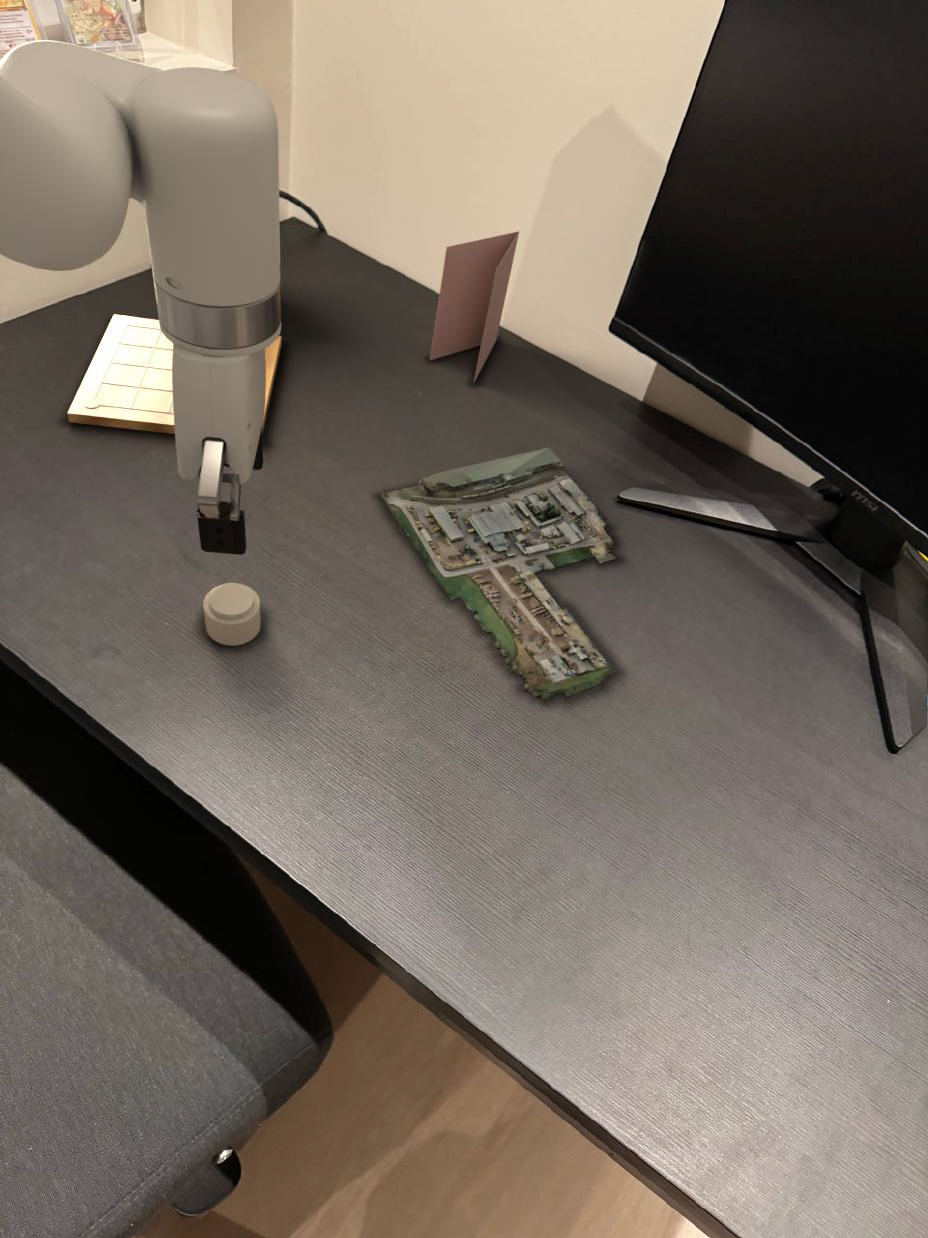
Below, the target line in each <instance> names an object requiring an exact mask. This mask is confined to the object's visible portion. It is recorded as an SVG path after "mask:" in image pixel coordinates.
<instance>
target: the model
mask: <svg viewBox="0 0 928 1238" xmlns="http://www.w3.org/2000/svg"><path fill="white" fill-rule="evenodd" d="M563 466H564V463H563V461H562V460H561V459H560V458H559V456H557V455H556V454H555V453H554V451H553V450H552V449H551V448H550V446H549V447H548V446H547V447H545V448H540V449H537V450H532V451H527V452H522V453H517V454H514V455H509V456H505V457H500V458H496V459H493V460H492V459H491V460H488V461H483V462H479V463H475V464H471V465H465V466H461V467H457V468H453V469H448V470H444V471H440V472H436V473H431V474H427V475H422V476H419V477H413V478H412V480H418V485H415V486H410V487H406V488H401V489H397V490H392V491H389V492H387V490H386V488H383V491H382V493H381V498H382V500H383V501H384V503H385V505H386V506H387V507H388V509H389V510H390V512H391V513H392V515H393V516H394V518H395V519H396V521H397V522H398V523H399V525H400V527H401V528H402V530H403V531H404V533H405V534H406V535H407V537H408V538H409V540H410V542H411V543H412V544H413V546H414V548H415V549H416V551H417V552H418V554H419V555H420V557H421V558H422V560H423V561H424V562H425V565H427V567H428V569H429V570H430V571H431V573H432V574H433V576H434V578H435V579H436V581H437V582H438V583H439V585H440V586H441V588H442V589H443V591H444V592H445V594H446V596H447V597H448V598H449V599H450V600H456V599H459V598H460V599H461V600H462V602H463V603H464V605H465V606H466V608H467V609H468V610H469V611H471V612H472V613H475V612H476V614H475V615H474V616H473V618H474V619H475V621H476V622H477V624H478V625H479V626H480V628H481V630H483V631H484V632H486V633H490V634H491V635H492V637H493V638H494V644H493V647H495V648H498V649H500V652H499V656H503V657H506V660H505V664H507V665H509V666H512V669H511V673H514V674H516V675H519V676H522V680H524V682H525V684H524V688H523V691H525V692H529V693H532V695H533V696H534V698H537V697H539V696H540V698H541V699H542V700H543V701H545V700H547V699H550V698H552V697H555V696H558V695H560V694H562V693H563V695H564V696H565V697H566V698H567V697H570V696H572V695H575V694H578V693H580V692H584V691H586V690H588V689H591V688H594V687H596V686H598V685H600V684H601V682H602V681H604V679H605V678H606V677H607V676H610V675H613V674H615V673H616V672H615V670H614V669H613V668H612V667H611V665H610V664H609V662H608V661H607V660H606V658H605V657H604V655H602V654H601V652H600V651H599V649H598V648H597V647H596V646H595V644H594V643H593V641H592V640H591V639H590V638H589V636H588V635H587V634H586V632H585V631H584V629H582V627H581V626H580V625H579V623H578V622H577V621H576V619H575V618H574V617H573V615H572V614H571V613H570V611H568V609H567V608H566V607H564V608H561V607H560V606H559V605H558V603H557V601H555V599H554V598H553V596H552V595H551V594H550V593H549V592H548V590H547V588H545V586H544V585H543V583H542V582H541V581H540V579H539V578H538V577H537V575H536V572H537V573H538V572H540V571H543V570H546V571H550V570H554V569H557V568H560V567H563V566H568V565H570V564H574V563H576V562H580V561H584V560H586V561H589V560H590V559H591V558H593V557H594V558H595V559H596V560H597V561H598V563H599V564H602V563H605V562H610V561H611V560H615V559H617V557H616V556H614V555H613V554H612V553H610V552H611V550H610V549H609V548H612V547H613V544H614V541H613V540H612V538H611V536H610V535H608V534H607V532H606V530H605V529H606V527H607V523H606V522H605V521H604V520H603V519H602V517H603V515H599V513H598V508H597V507H596V505H595V504H594V503H593V502H592V500H589V497H588V496H587V495H586V494H585V493H584V491H583V490H582V489H581V488H580V487H579V486H578V485H577V483H575V481H574V480H573V479H572V478H571V477H570V475H569V474H568V473H567V472H566V471H565V470H564V468H563Z"/></svg>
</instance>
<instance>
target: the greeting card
mask: <svg viewBox="0 0 928 1238" xmlns="http://www.w3.org/2000/svg"><path fill="white" fill-rule="evenodd" d="M519 235H520V230H519V231H513V232H509V233H504V234H499V235H495V236H490V237H485V238H482V239H478V240H472V241H468V242H463V243H459V244H454V245H449V246H446V250H445V255H444V260H443V261H444V262H443V266H442V267H443V268H442V273H441V274H442V275H441V280H440V281H441V282H440V288H439V296H438V302H437V308H436V309H437V310H436V315H435V323H434V329H433V334H432V335H433V336H432V344H431V349H430V356H429V361H432V360H436V359H439V358H440V359H441V358H443V357H445V356H446V357H447V356H449V355H452V354H457V353H459V352H462V351H466V350H469V349H473V348H476V347H479V346H480V348H479V353H478V357H477V363H476V369H475V372H474V373H475V374H474V377H473V378H474V379H473V383H476V380H477V378H478V376H479V374H480V372H481V370H483V369H482V368H483V367H484V365H485V363H486V361H487V359H488V357H489V355H490V354H491V351H492V350H493V348H494V345H495V344H496V342H497V339H498V334H499V329H500V326H501V320H502V314H503V310H504V306H505V302H506V297H507V291H508V287H509V282H510V278H511V273H512V268H513V263H514V258H515V253H516V249H517V244H518V240H519Z"/></svg>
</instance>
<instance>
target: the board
mask: <svg viewBox="0 0 928 1238" xmlns="http://www.w3.org/2000/svg"><path fill="white" fill-rule="evenodd" d="M282 337H283V336H282V335H279V336H278V338H277V339H276V340H275V341H274V342H273V343H272V344H271V345H270V346H268V347H266V348H265V360H266V394H265V409H264V416H263V422H262V435H263V434H264V429H265V424H266V419H267V414H268V409H269V406H270V401H271V396H272V391H273V386H274V381H275V377H276V373H277V368H278V362H279V358H280V354H281V349H282V343H283V341H282V340H283V339H282ZM172 354H173V343H172V342H171V341H169V340H168V339H167V338H166V337H165V335H164V334H163V333H162V331H161V329H160V325H159V319H154V318H145V317H137V316H129V315H121V314H115V313H114V314H113V316H112V318H111V319H110V322H109V323H108V326H107V328H106V330H105V332H104V335H103V337H102V339H101V340H100V343H99V345H98V346H97V349H96V351H95V354H94V355H93V358H92V360H91V362H90V365H89V366H88V368H87V371H86V373H85V375H84V377H83V379H82V381H81V383H80V386H79V388H78V390H77V392H76V394H75V396H74V398H73V400H72V402H71V405H70V407H69V409H68V411H67V416H68V422H69V423H72V424H73V423H74V424H81V425H91V426H99V427H108V428H118V429H126V430H127V429H128V430H135V431H142V432H143V431H144V432H153V433H162V434H171V435H175V426H174V411H173V392H172Z"/></svg>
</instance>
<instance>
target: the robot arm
mask: <svg viewBox="0 0 928 1238" xmlns="http://www.w3.org/2000/svg"><path fill="white" fill-rule="evenodd" d="M277 115H278V114H277V111H276V109H275V106H274V104H273V102H272V101H271V98H270V97H269V95H268V94H267V93H266V92H265V91H264V90H263V89H262V88H260V87H259V85H257V84H255V82H252V81H251V80H249V79H247V78H245V77H242V76H239V75H237V74H235V73H231V72H227V71H223V70H219V69H214V68H209V67H207V68H206V67H196V66H195V67H191V66H185V67H183V66H182V67H172V68H167V69H166V68H161V67H157V66H152V65H148V64H144V63H141V62H137V61H134V60H130V59H127V58H123V57H119V56H117V55H112V54H109V53H106V52H102V51H100V50H97V49H93V48H89V47H85V46H82V45H78V44H76V43H75V44H74V43H70V42H65V41H58V40H47V39H45V40H44V39H43V40H34V41H28V42H24V43H21V44H19V45H17V46H16V47H14V48H13V49H11V50H9V51H8V52H6V53H5V55H3V57H2V58H1V59H0V255H1V256H3V257H5V258H7V259H9V260H11V261H13V262H16V263H19V264H22V265H25V266H28V267H31V268H34V269H40V270H44V271H45V270H46V271H52V272H66V271H74V270H78V269H82V268H86V267H88V266H90V265H92V264H94V263H95V262H97V261H99V260H100V259H101V258H103V257H104V256H105V255H106V254H107V253H108V252H110V250H111V249H112V248H113V246H114V245H115V243H116V242H117V241H118V239H119V237H120V235H121V233H122V230H123V227H124V225H125V220H126V217H127V214H128V213H127V212H128V208H129V202H130V200H134V201H137V202H138V203H139V204H140V205H141V206H142V208H143V211H144V215H145V216H144V218H145V224H146V225H145V226H146V233H147V240H148V241H147V242H148V249H149V256H150V264H151V270H152V271H151V272H152V279H153V287H154V294H155V301H156V310H157V315H158V316H157V318H158V320H159V325H160V329H161V331H162V333H163V334H164V335H165V337H166V338H167V339H168V340H169V341H171V342H172V343H173V354H172V392H173V411H174V426H175V434H174V437H175V438H174V439H175V450H176V464H177V473H178V474H179V476H180V477H181V478H182V479H183V480H191V481H195V480H196V479H197V477H198V479H197V499H196V518H197V526H198V527H197V528H198V535H199V542H200V543H199V544H200V549H201V551H203V552H206V553H215V554H227V555H228V554H229V555H238V556H243V555H245V553H246V551H247V533H246V532H247V531H246V516H245V510H242V509H241V496H242V485H244V484H245V483H247V482H248V481H249V480H250V479H251V476H252V474H253V473H252V472H253V471H260V470H262V469H263V467H264V444H263V441H264V440H263V434H262V422H263V416H264V409H265V394H266V360H265V348H266V347H268V346H270V345H271V344H272V343H273V342H274V341H275V340H276V339H277V338H278V336H280V334H281V330H282V306H281V305H282V301H281V300H282V299H281V294H282V293H281V236H280V235H281V232H280V227H281V225H280V138H279V137H280V135H279V121H278V116H277ZM224 468H230V469H231V471H232V472H233V473H224ZM223 483H226V484H230V499H229V500H230V501H223V496H222V485H223Z"/></svg>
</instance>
